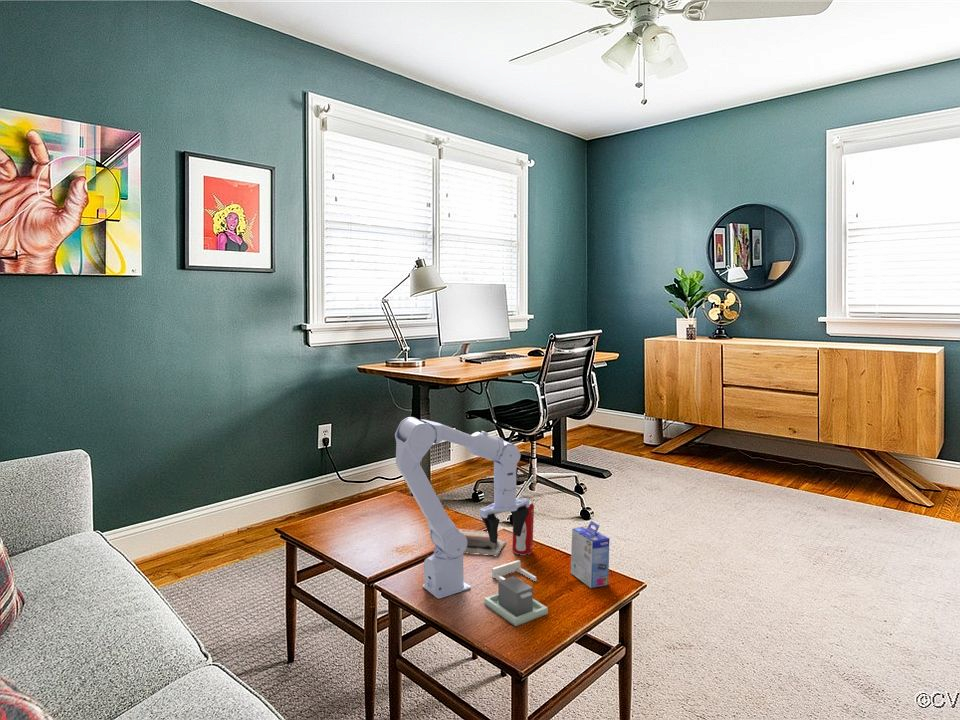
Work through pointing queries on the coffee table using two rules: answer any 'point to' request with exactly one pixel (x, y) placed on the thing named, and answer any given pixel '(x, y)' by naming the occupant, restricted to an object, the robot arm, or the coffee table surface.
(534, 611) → the tray
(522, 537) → the beverage can
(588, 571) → the ink cartridge box
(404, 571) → the coffee table surface
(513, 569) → the frame
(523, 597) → the grey tabbed box
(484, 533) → the packaged product
